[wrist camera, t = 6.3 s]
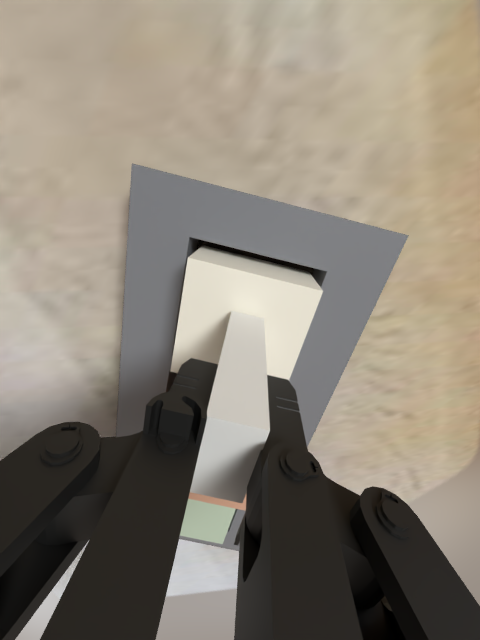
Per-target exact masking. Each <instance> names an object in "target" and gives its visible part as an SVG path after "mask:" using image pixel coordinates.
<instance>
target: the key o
mask: <svg viewBox="0 0 480 640" xmlns="http://www.w3.org/2000/svg"><path fill="white" fill-rule="evenodd" d="M235 510H236V509H235V508H230V507H225V506H221V505H216V504H211V503H206V502H202V501H197V500H192V499H188V502H187V506H186V510H185V515H184V519H183V523H182V528H181V532H180V536H184V537H189V538H194V539H199V540H204V541H209V542H214V543H219V544H223V542H224V539H225V536H226V534H227V531H228V528H229V526H230V523H231V520H232V518H233V515H234V512H235Z"/></svg>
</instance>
